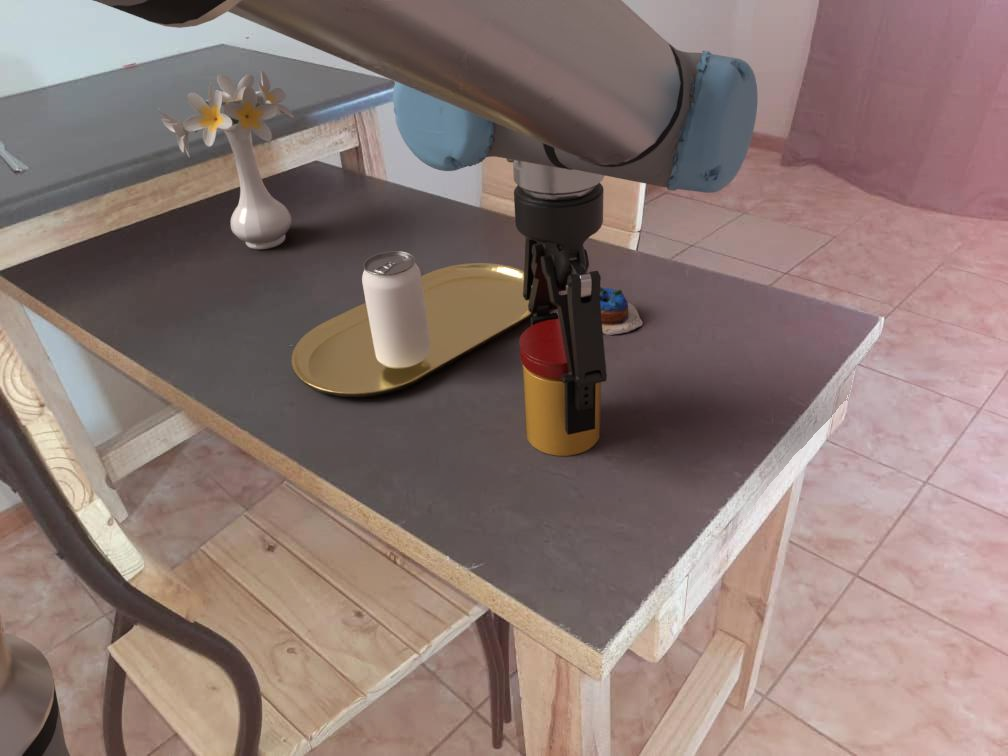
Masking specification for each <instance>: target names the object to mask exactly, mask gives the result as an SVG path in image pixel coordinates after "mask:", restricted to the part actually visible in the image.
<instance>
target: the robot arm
mask: <svg viewBox="0 0 1008 756" xmlns="http://www.w3.org/2000/svg"><path fill="white" fill-rule="evenodd" d="M92 1H93V2H97V3H100V4H102V5H104V6H107V7H110V8H113V9H115V10H118V11H121V12H124V13H126V14H129V15H131V16H134V17H137V18H139V19H142V20H145V21H147V22H150V23H153V24H157V25H160V26H163V27H168V28H177V29H181V28H189V27H198V26H200V25H202V24H205V23H208V22H211V21H213V20H215V19H217V18H219V17H221V16H223V15H224V14H225V13H230V14H233V15H235V16H237V17H240V18H243V19H245V20H247V21H250V22H252V23H254V24H257V25H258V26H262V27H264V28H266V29H269V30H271V31H273V32H276V33H278V34H281V35H283V36H286V37H289V38H290V39H292V40H295V41H297V42H300V43H302V44H305V45H307V46H310V47H312V48H314V49H317V50H319V51H322V52H324V53H326V54H329V55H331V56H334V57H336V58H338V59H341V60H343V61H345V62H348V63H350V64H352V65H355V66H357V67H360V68H363V69H365V70H367V71H370V72H371V73H374V74H377V75H379V76H381V77H383V78H386V79H389V80H391V81H393V82H394V86H393V90H392V104H393V113H394V115H395V116H394V117H395V118H394V120H395V123H396V128H397V129H398V131H399V134H400V136H401V138H402V141H404V143H405V145H406V146H407V148H408V149H409V150H410V151H411V152H412V154H413V155H414V156H415V157H416V158H417V159H418V160H419V161H420V162H421V163H423V164H425V165H427V166H428V167H430V168H432V169H435V170H438V171H442V172H453V171H458V170H461V169H464V168H466V167H472V166H477V165H479V164H480V163H482V162H483V161H484V160H485V159H486V158H491V157H493V158H495V157H496V158H500V159H501V158H502V159H506V162H508V163H510V164H511V163H512V170H513V171H512V172H513V181H514V183H515V184H516V187H515V188H514V190H513V203H514V223H515V228H516V229H517V231H518V232H519V233H520V234H521V235H522V236H523V237H525V242H524V243H525V245H524V246H525V247H524V266H523V271H524V284H523V297H524V299H525V300H529V304H528V310H529V311H530V314H532V315H533V316H530V327H531V326H532V325H535V324H537V323H540V322H543V321H547V320H552V319H559V321H560V326H561V332H562V338H563V344H564V349H565V355H566V361H567V367H568V373H565V374H564V376H561V379H562V382H563V383H565V430H566V432H567V434H568V435H570V434H574V433H579V432H583V431H588V430H592V429H595V393H596V383H600V382H601V383H604V382H606V381H607V378H608V377H607V376H608V374H607V367H606V353H605V344H604V333H603V331H602V319H601V308H600V287H601V280H602V278H601V274H600V272H599V271H598V270H593V271H588V269H589V267H590V261H589V255H588V251H587V249H586V248H585V246H584V243H585V242H586V241H587V240H588V239H589V238H590V237H591V236H593V235H595V234H597V232H599V231H600V229H601V228H602V226H603V223H604V193H605V192H604V186H603V185H602V183H601V182H603V180H604V177H605V176H606V177H611V178H614V179H615V178H616V179H621V180H625V181H630V182H636V183H641V184H646V185H651V186H657V187H661V188H667V190H668V191H673V192H674V191H676V190H683V191H690V192H696V193H697V192H698V193H709V194H711V193H712V194H713V193H717V192H719V191H721V190H723V189H724V188H725V187H727V186H729V185H730V184H731V183H732V181H733V180H734V179H735V178H736V176H737V175H738V173H739V172H740V170H741V167H742V165H743V163H744V162H745V159H746V157H747V154H748V151H749V148H750V145H751V142H752V138H753V135H754V130H755V125H756V120H757V115H758V114H757V113H758V101H759V100H758V97H759V96H758V85H757V79H756V75H755V73H754V70H753V68H752V67H751V66H750V64H749V63H748V62H747V61H745V60H744V59H741V58H737V57H733V56H732V57H731V56H725V55H720V54H714V53H712V52H711V51H710V50H702V52H691V51H690V52H688V51H682V50H679V49H676V47H674V46H673V45H672V44H671V43H669V41H667V40H666V39H664V37H662V35H660V34H659V33H658V32H657V31H656V30H655V29H654V28H652V26H650V25H649V24H648V23H647V22H646V21H645V20H644V19H643V18H642V17H641V16H639V15H638V13H637V12H635V11H634V10H633V9H632V8H631V7H630V6H628V5H627V4H626V3H625V2H624V0H92ZM531 286H532V287H531ZM565 291H566V294H560V292H565ZM556 310H557V312H555V311H556ZM551 311H554V312H551ZM57 695H58V694H57V691H56V685H55V679H54V675H53V670H52V668H51V666H50V663H49V661H48V659H47V658H46V656H45V655H44V653H42V651H41V650H40V649H38V648H37V647H36V645H33V644H32V643H30V642H29V641H28V640H25V639H24V638H23V637H22V638H21V637H19V636H16V635H14V634H11V633H7V632H5V630H4V626H3V621H2V615H1V614H0V756H71V754H70V752H69V749H68V746H67V743H66V739H65V734H64V728H63V723H62V717H61V712H60V706H59V701H58V696H57Z"/></svg>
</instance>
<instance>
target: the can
mask: <svg viewBox="0 0 1008 756" xmlns="http://www.w3.org/2000/svg"><path fill="white" fill-rule="evenodd" d="M362 266H363V267H362V268H363V269H364V270H363V272H362V276H361V284H362V289H363V295H364V302H365V303H366V306H367V312H368V317H369V323H370V328H371V334H372V339H373V345H374V350H375V355H376V358H377V360H378V361H379V362H380V363H382V364H383V365H384V366H387V367H389V368H395V369H403V368H409V367H413V366H415V365H418V364H420V363H421V362H423V361H424V360H425V359H426V358H427V356H428V355H429V354H430V350H431V347H430V338H429V331H428V323H427V315H426V308H425V300H424V293H423V286H422V278H421V276H422V273H421V270H420V268H419V266H418V264H416V257H415V256H414V255H413V254H411V253H409V252H407V251H401V250H388V251H382V252H378V253H375V254H372V255H371V256H370V257H367V258H366V260H365V261H364V262H363V265H362Z"/></svg>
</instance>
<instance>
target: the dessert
mask: <svg viewBox="0 0 1008 756" xmlns="http://www.w3.org/2000/svg"><path fill="white" fill-rule="evenodd" d="M600 308H601V319H602V331H603V335H607V336H613V335H619V334H625V333H629V332H631V331H634V330H635V329H637V328H639V327H642V326H643V324H644V322H643V321H642V319H641V318H640V314H639V312H638V309H637V308H636V306H635V305H633V304H632V303H630V302H628V299H627V298H626V297H625V294H624V293H623V291H622V290H621V289H617V290H616V289H612V288H606V287H602V286H600Z"/></svg>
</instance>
